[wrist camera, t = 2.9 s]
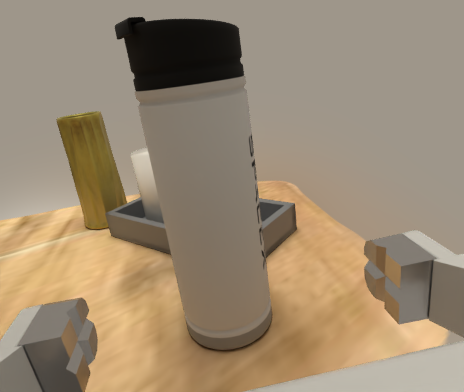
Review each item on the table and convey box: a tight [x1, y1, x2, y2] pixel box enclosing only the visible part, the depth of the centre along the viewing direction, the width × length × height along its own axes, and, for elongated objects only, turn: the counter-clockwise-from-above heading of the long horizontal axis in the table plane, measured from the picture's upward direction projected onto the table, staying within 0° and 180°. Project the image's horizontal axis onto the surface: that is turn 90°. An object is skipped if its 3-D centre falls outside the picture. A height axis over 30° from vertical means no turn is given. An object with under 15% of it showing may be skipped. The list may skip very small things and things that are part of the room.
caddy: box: [105, 197, 297, 257], centre depth 39 cm, size 20×10×3 cm, turn 53°
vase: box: [57, 111, 127, 229], centre depth 45 cm, size 6×6×14 cm
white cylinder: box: [130, 148, 164, 224], centre depth 41 cm, size 5×5×9 cm
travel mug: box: [115, 17, 272, 350], centre depth 22 cm, size 6×7×20 cm
